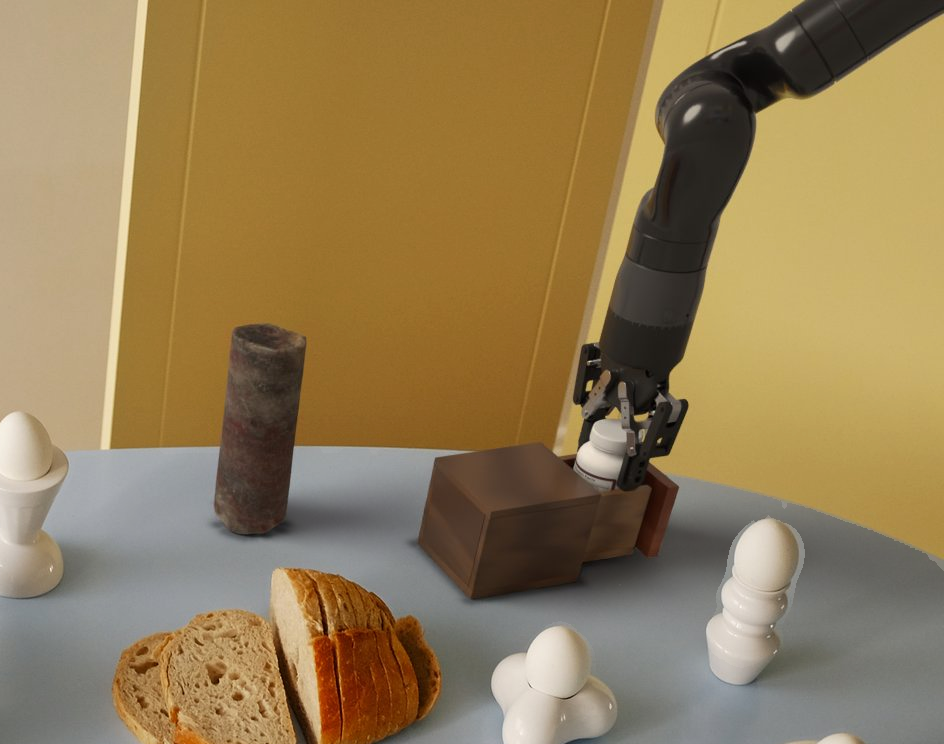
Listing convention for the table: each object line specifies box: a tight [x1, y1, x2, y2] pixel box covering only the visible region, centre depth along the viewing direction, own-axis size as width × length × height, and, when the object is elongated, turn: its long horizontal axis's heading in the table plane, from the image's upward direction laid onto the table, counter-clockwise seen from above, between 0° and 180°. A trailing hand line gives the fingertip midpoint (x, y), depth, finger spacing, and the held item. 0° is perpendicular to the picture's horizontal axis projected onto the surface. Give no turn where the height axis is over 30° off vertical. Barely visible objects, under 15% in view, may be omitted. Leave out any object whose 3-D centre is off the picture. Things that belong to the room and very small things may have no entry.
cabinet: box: [416, 441, 601, 600], centre depth 169 cm, size 12×11×10 cm
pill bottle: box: [573, 418, 644, 492], centre depth 170 cm, size 6×6×11 cm
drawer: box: [557, 453, 680, 563], centre depth 172 cm, size 12×9×8 cm
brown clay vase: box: [213, 322, 307, 535], centre depth 172 cm, size 8×7×20 cm
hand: (607, 470), depth 169 cm, fingers closed on pill bottle, 6 cm apart
